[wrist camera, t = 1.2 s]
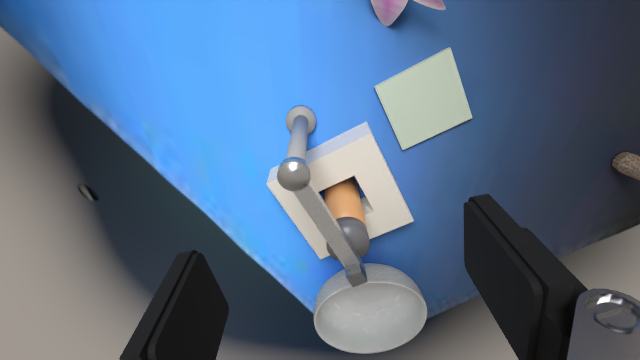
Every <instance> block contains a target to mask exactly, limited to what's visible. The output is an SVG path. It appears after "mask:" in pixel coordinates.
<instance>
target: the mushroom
mask: <svg viewBox="0 0 640 360" xmlns="http://www.w3.org/2000/svg"><path fill="white" fill-rule="evenodd" d="M612 165H613V167H614V168H615V169H617V170H618V171H619V172H621V173H623V174H625V175H628V176H630V177H633V178H635V179H638V180H640V157H639V156H638V155H635V154H632V153H629V152H622V153H619V155H617V156H616V157H614V159H613V162H612Z"/></svg>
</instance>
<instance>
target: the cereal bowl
mask: <svg viewBox="0 0 640 360" xmlns="http://www.w3.org/2000/svg"><path fill="white" fill-rule="evenodd" d="M364 265H365V269H366V275H367V280H368V282H366V283H364V284H361V285H358V286H356V287H352V285H351V284H350V283H349V281H348V280H347V278H346V274H345V269H342V270H340V271H339V272H337V273H336V274H334V275H333V276H332V277H330V278H329V279H328V280H327V281H326V282H325V283H324V284H323V286H322V287H321V289H320V291H319V293H318V295H317V298H316V301H315V307H314V325H315V329H316V331H317V333H318V334H319V336H320V337H321V338H322V339H323V340H324V341H325V342H326V343H328V344H329V345H331V346H333V347H335V348H337V349H340V350H343V351H347V352H352V353H377V352H382V351H387V350H390V349H393V348H396V347H398V346H400V345H403V344H404V343H406V342H408V341H409V340H411V339H412V338H414V337H415V336H416V335H417V334H418V333H419V332H420V330H421V329H422V328H423V326H424V324H425V321H426V318H427V306H426V303H425V300H424V298H423V296H422V294H421V292H420V290H419V288H418V286H417V285H416V284H415V282H414V281H413V280H412V279H411V278H410V277H409V276H408V275H406V274H405V273H403V272H402V271H400V270H398V269H396V268H393V267H391V266H388V265H383V264H378V263H365V264H364Z"/></svg>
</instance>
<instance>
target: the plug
mask: <svg viewBox="0 0 640 360" xmlns="http://www.w3.org/2000/svg"><path fill="white" fill-rule="evenodd" d="M324 193H325V204H326V205H327V207H328V208H329V210H330V212H331V213H332V215H333V216H334V218H335V219H336V221H337V223H338V224H339V226H340V227H341V229H342V230H343V232H344V234H345V235H346V237H347V238H348V240H349V241H350V243H351V245H352V246H353V248H354V249H355V251H356V252H357V254H358V256H359V257H360V258H362V257H363V256H365V255H366V253H367V252H368V250H369V248H370V240H369V236H368V231H367V226H366V222H365V217H364V212H363V208H362V203H361V198H360V194H359V189H358V185H357V181H356V179H355V178H354V177H353V176H352V177H350V178H348V179H345V180H343V181H341V182H339V183H337V184H335V185H332V186H330V187H328V188H326V189H324ZM326 247H327V251H328V253H329V254H330V255H331V256H332V257H333V258H334V259H336V260H339V259H338V257H337V256H336V254H335V253H334V251H333V250H332V248H331V247H330V246H329V244H328V243H327V241H326ZM339 261H340V260H339Z"/></svg>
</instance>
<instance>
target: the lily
mask: <svg viewBox="0 0 640 360" xmlns="http://www.w3.org/2000/svg"><path fill="white" fill-rule="evenodd" d="M414 1H416V2H417V3H420V4H422V5H425V6H427V7H431V8H434V9H438V10H445V9H446V7H445V5H444V3H443V1H442V0H414ZM407 2H408V0H371V3H372V6H373V8H374V11H375V13H376V15H377V17H378V19H379V20H380V22H381V23H382V24H384V25H385V26H389V25H391V24H392V23H393V22H394V21H395V20H396V19H397V17H398V16H399V15H400V13H401V12H402V11H403V9H404V8H405V6H406V4H407Z"/></svg>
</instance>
